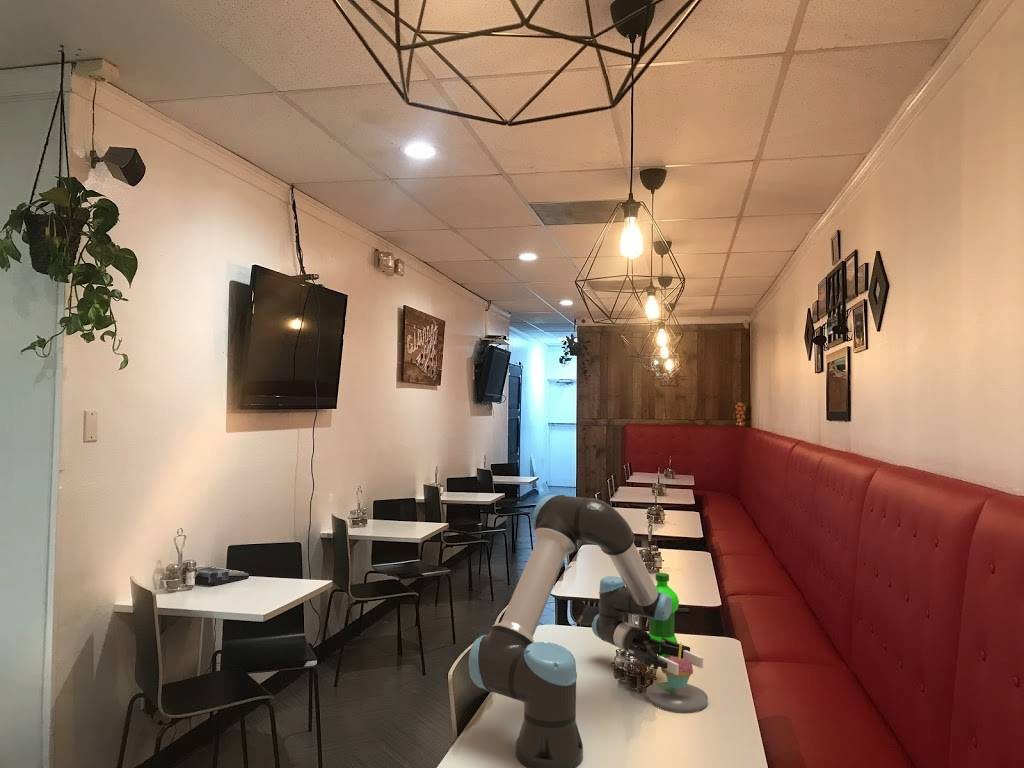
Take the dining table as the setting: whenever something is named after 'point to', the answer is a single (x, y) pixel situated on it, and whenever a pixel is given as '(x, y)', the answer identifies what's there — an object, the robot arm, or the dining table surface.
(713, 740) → the dining table surface
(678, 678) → the cupcake
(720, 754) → the dining table surface
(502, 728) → the dining table surface
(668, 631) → the plastic bottle
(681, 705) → the slate plate
